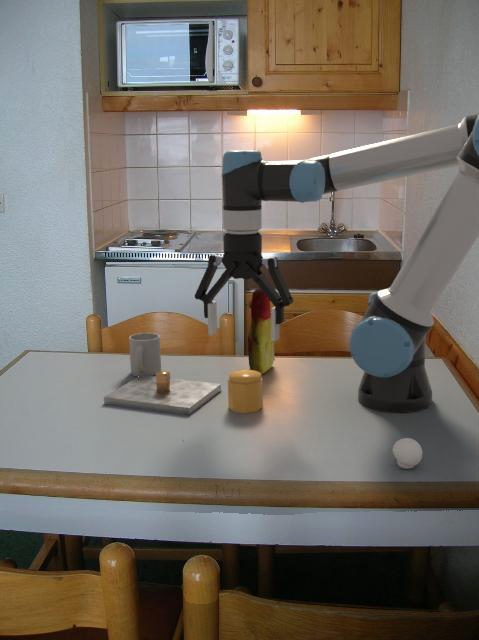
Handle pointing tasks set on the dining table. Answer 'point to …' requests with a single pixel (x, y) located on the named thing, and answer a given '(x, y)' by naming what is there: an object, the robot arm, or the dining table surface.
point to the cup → (145, 354)
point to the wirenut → (245, 391)
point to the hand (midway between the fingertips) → (243, 336)
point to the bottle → (260, 334)
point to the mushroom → (407, 453)
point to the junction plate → (163, 394)
